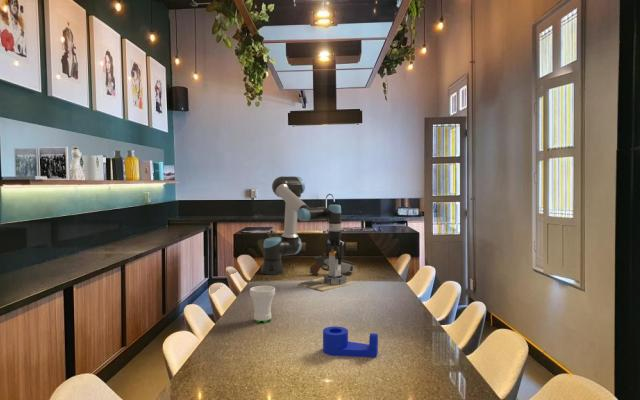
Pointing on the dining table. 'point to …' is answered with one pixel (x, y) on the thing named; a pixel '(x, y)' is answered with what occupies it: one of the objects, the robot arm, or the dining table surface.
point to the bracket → (347, 344)
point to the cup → (262, 302)
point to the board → (324, 285)
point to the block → (333, 264)
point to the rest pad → (311, 283)
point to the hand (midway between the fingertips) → (335, 269)
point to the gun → (324, 260)
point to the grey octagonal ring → (334, 280)
